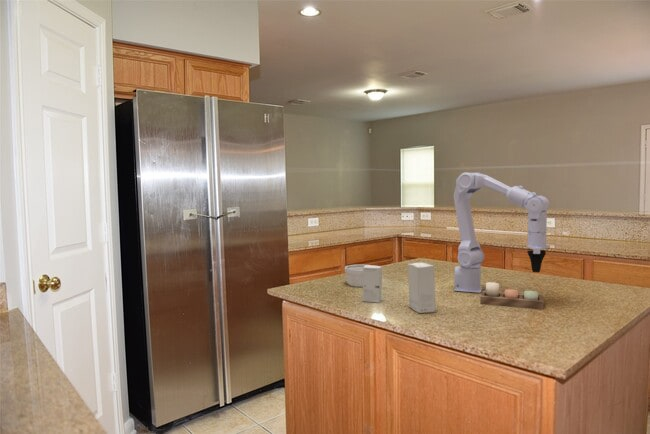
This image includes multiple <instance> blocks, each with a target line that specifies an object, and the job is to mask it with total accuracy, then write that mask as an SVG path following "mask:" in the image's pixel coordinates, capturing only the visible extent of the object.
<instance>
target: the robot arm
mask: <svg viewBox="0 0 650 434" xmlns="http://www.w3.org/2000/svg"><path fill="white" fill-rule="evenodd" d="M455 184H456V185H455V189H454V193H453V201H454V207H455V213H456V218H457V219H456V220H457V224H458V225H457V226H458V231H459V237H460V243H459V245H458V247H457V250H458V253H457V261H458V262H457V263H458V264H459V265H456V266H454V283H453V284H454V285H453V286H454V289H453V291H454V292H465V293H478V294H482V291H483V287H482V285H481V283H482V281H481V280H482V277H481V276H482V275H481V274H482V271H481V270H482V263H483V261H484V260H485V253H484V252H483V249H482V248H481V245H480V243H479V241H477V237H476V232H475V227H474V226H475V225H474V221H473V215H472V209H471V202H470V198H472V196H473V195H474V194H475V193H476V192H477V191H479V190H481V189H482V188H487V189H490V190H492V191H494V192H497V193H498V194H499V193H500V194H501V195H503V196H506V199H507V201H509V202H511V203H513V204H514V205H517V206H519V207H521V208H522V209H525V210H526V212H527V213H528V214H527V217H528V218H527V244H526V248H528V249H531V250H527V255H528V256H529V259H530V265H531V266H530V267H531V271H532V273H540V271H541V268H542V264H543V260H544V258H545V257H546V254H547V252H546V250H544V249H550V248H551V246H550V245H549V244H547V227H548V226H547V221H548V220H547V219H548V218H547V215H548V214H547V213H548V210H549V209H550V206H551V205H550V204H551V203H550V201H549V199H548V198H547V197H546V196H544V195H537V193H536V192H534V191H533V192H531V191H529V190H527V189H524V186H523V185H514V186H512V187H511V186H509V185H507V184H505V183H503V182H501V181H499V180H497V179H495V178H493V177H491V176H489V175H487V174H483V173H481V172H479V171H476V172H468V171H467V172H463V173H461V174H460V175H459V176H458V177H457V178H456V179H455Z"/></svg>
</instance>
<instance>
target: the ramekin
mask: <svg viewBox="0 0 650 434" xmlns="http://www.w3.org/2000/svg"><path fill="white" fill-rule="evenodd" d="M365 265H366V264H350V265H346V266H345V267H344V272H345V280H346V283H347V285H349V286H351V287H356V288H363V267H364V266H365Z"/></svg>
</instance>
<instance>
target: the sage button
mask: <svg viewBox="0 0 650 434" xmlns="http://www.w3.org/2000/svg"><path fill="white" fill-rule="evenodd" d="M523 294H524V299H532V300H538V295H539V291H536V290H524V292H523Z"/></svg>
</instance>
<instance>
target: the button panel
mask: <svg viewBox="0 0 650 434" xmlns="http://www.w3.org/2000/svg"><path fill="white" fill-rule="evenodd" d="M479 300H480V302H479V303H480V305H488V306H489V305H490V306H500V307H501V306H502V307H511V308H512V307H514V308H521V309H523V308H524V309H525V308H526V309H535V310H544V299H543V295H542V294H538V300H532V299H524V293H519V292H518V298H507V297H505V291H499V296H497V297H495V296H487V295H486V290H482V291H481V293H480V298H479Z"/></svg>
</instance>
